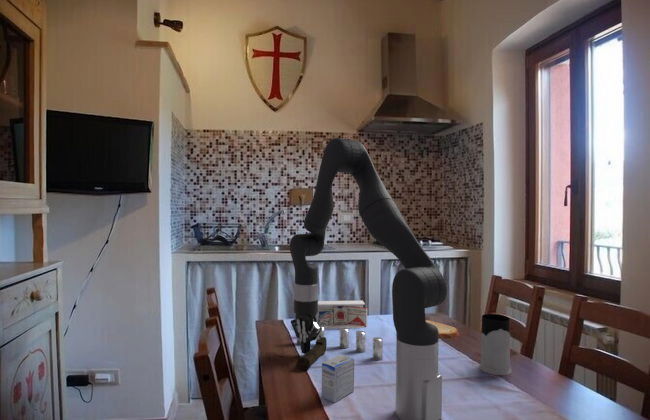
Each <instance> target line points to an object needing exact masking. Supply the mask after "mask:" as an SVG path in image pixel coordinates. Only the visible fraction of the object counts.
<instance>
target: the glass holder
mask: <svg viewBox="0 0 650 420" xmlns="http://www.w3.org/2000/svg"><path fill="white" fill-rule="evenodd" d="M510 320H511V318H510V317H508V316H506V315H501V314H496V313H495V314H494V313H486V314H482V315H481V332H480V362H479V365H478V368H479V370H481V371H482V372H483V373H487V374H490V375H494V376H507V375H510V374H512V369H511V332H510V331H511V330H510V329H511V328H510V325H511V324H510V323H511V321H510Z"/></svg>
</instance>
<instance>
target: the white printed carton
mask: <svg viewBox="0 0 650 420" xmlns="http://www.w3.org/2000/svg"><path fill="white" fill-rule="evenodd" d="M365 305H366V303H365V302H364V300H318V312H317V314H316V320H317V322H316V323H317V325H318V326H324V330H326V329H329V330H330V329H340V328H348V329H365V328H366V327H367V326H368V308H367V307H364V306H365Z"/></svg>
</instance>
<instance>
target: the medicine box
mask: <svg viewBox="0 0 650 420" xmlns="http://www.w3.org/2000/svg"><path fill="white" fill-rule="evenodd" d="M354 391H355V358H353V357H351V356H348V355H344V354H339V355H336V356H335V357H333V358H330V359H328V360H326V361H324V362H322V363H321V398H322V399H325V400H327V401H329V402H332V403H337V402H339V401H340V400H342V399H344V398H345V397H347V396H348V395H350V394H351V393H353V392H354Z"/></svg>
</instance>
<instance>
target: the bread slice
mask: <svg viewBox="0 0 650 420" xmlns="http://www.w3.org/2000/svg"><path fill="white" fill-rule="evenodd" d="M426 322H427V323H430V324H433V325H435V326H436V327H437V329H438V333H439V339H453V338H458V337H460V333H459V331H458V329H457V328H456V327H454V326H450V325H448V324H445V323H441V322H438V321H433V320H429V319H426Z"/></svg>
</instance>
